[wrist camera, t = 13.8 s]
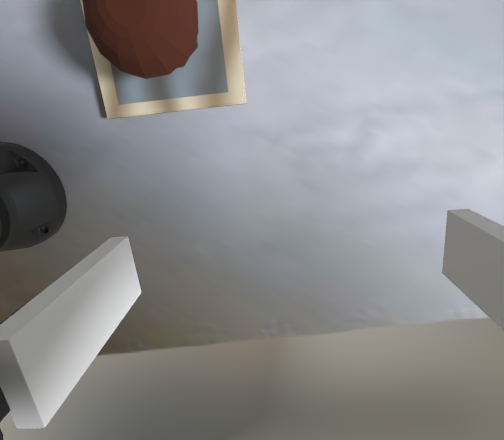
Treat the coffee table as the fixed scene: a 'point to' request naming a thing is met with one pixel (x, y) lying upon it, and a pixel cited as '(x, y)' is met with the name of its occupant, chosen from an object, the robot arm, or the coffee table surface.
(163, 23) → the muffin
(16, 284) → the coffee table surface
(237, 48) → the gold framed mirror
